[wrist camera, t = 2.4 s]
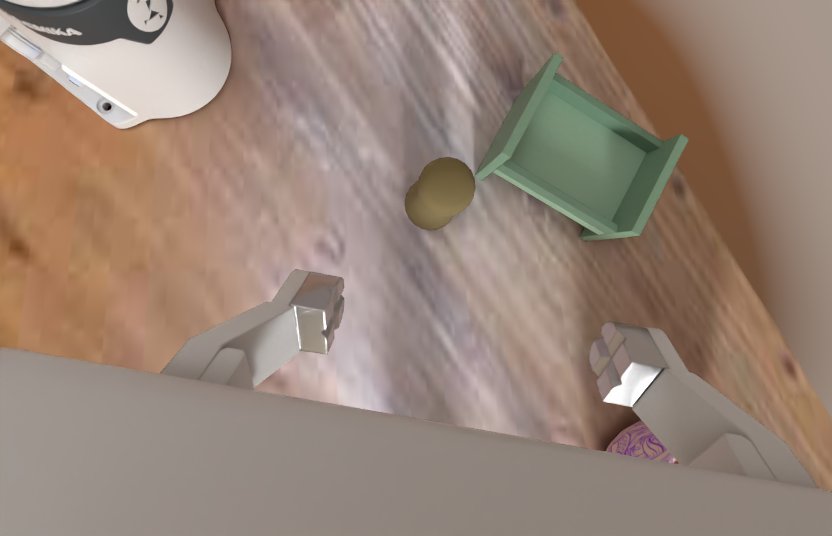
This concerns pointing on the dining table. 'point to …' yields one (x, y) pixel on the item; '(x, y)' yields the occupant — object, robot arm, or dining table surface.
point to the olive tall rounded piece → (440, 193)
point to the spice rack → (581, 157)
